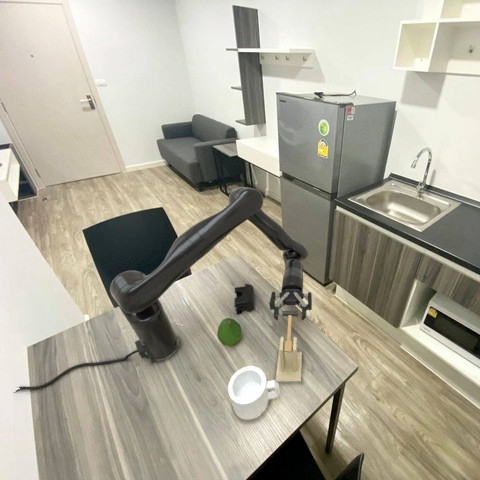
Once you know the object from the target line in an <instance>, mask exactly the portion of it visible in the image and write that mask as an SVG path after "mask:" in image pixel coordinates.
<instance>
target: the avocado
mask: <svg viewBox="0 0 480 480" xmlns="http://www.w3.org/2000/svg"><path fill="white" fill-rule="evenodd" d="M216 335H217V339H218V342H220V343H221V344H222V345H223V346H225V347H233V346H234V345H236V344H237V343H238V342H240V340H241V338H242V335H243V330H242V326H241V324H240V323H239V322H238V321H236V320H235V319H233V318H231V317H225V318H223V319H222V320H221V321H220V323H219V325H218V328H217V334H216Z"/></svg>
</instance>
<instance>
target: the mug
mask: <svg viewBox="0 0 480 480" xmlns="http://www.w3.org/2000/svg"><path fill="white" fill-rule="evenodd" d="M275 380H276V379H273V380H268V381H267V377H266V374H265V372H264V371H263V370H262V368H260V367H258V366H255V365H247V366H244V367H241V368H239V369H238V370H236V371H235V372H234V373H233V374H232V376H231V377H230V380H229V381H228V386H227V392H228V396H229V399H230V402H231V405H232V408H233V411H234V413H235V414H236V416H237V417H239V418H240V419H243V420H246V421H247V420H254V419H256V418H258V417H259V416H261V415H262V414H263V413H264V412H265V410H266V409H267V407H268V404H269V401H270V400H274V399H278V398H279V396H280V395H281V391H280V390H281V389H280V382H279V381H275ZM273 389H274V390H273ZM269 390H271V391H269Z"/></svg>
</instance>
